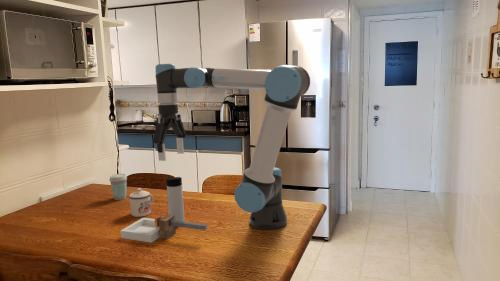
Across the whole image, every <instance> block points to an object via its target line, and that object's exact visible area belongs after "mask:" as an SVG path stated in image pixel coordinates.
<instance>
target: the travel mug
mask: <svg viewBox="0 0 500 281" xmlns="http://www.w3.org/2000/svg"><path fill="white" fill-rule="evenodd" d="M182 180H183V179H182V177H180V176H177V177H168V178H166V180H165V182H166V195H167V208H168V210H167V211H168V215H174V219H175V221H183V222H186V220H185V209H184V207H185V206H184V194H183V192H184V191H183V181H182Z"/></svg>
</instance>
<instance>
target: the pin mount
mask: <svg viewBox="0 0 500 281" xmlns="http://www.w3.org/2000/svg"><path fill="white" fill-rule="evenodd" d="M170 220H175V219H174V215H169V214H166V215H165V216H162V218H161V219H160V220H159V227H160V237H159V239H160V240H161V239H162V240H169V239H170V238H171V237H173V236H174V235H176V226H169V221H170Z"/></svg>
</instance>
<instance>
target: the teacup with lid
mask: <svg viewBox="0 0 500 281" xmlns="http://www.w3.org/2000/svg"><path fill="white" fill-rule="evenodd" d="M128 197H129V202H130V203H129V206H130V214H131V216H133V217H136V218H141V217H142V218H143V217H146V216H148V215H150V214H151V213H152V204H153V203H154V196H153V195H152V194H151V193H150V192H149V191H145V190H142V188H141V187H139V188H137V189H136V190H135V191H134V192H132V193H130V194H129V196H128Z"/></svg>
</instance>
